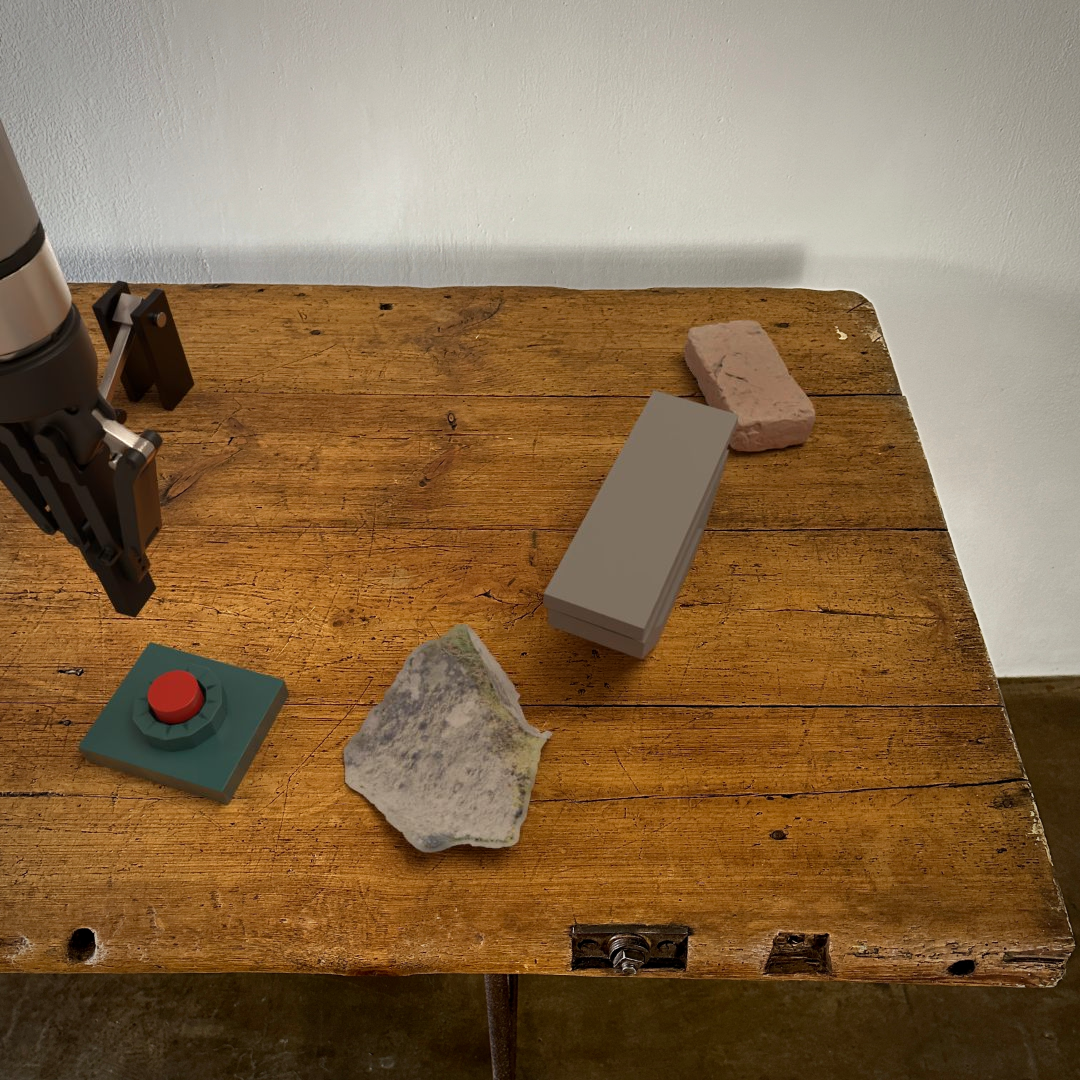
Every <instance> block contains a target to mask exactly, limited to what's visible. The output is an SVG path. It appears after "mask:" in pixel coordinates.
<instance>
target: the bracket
mask: <svg viewBox="0 0 1080 1080" xmlns="http://www.w3.org/2000/svg"><path fill="white" fill-rule="evenodd" d="M122 293H125V294H129V295H132V292H131V290H130V286H129V284H128V282H127V281H123V280H119V279H118V280H117V281H116V282H115V283H113V285H112V286H110V287H109V288H108V289H107V290H106V291H105V292H104V293H103V294H102V295H101V296H100V297H99V298H98V299H96V301H95V302H94V303H93V304H92V305H91V309H92V312H93V314H94V317H95V319H96V321H97V324H98V327H99V329H100V331H101V334H102V336H103V339H104V342H105V344H106V347H107V349H108V352H109V354H110V355H111V352H112V349H113V347H114V344H115V341H116V338H117V335H118V333H119V330H120V327H121V326H120V325H118V324H117V323H116V322H114V321H113V320H112V319H113V316H114V313H115V310H116V308H117V305H118V302H119V299H120V296H121V294H122ZM130 317H131V320H132V323H133V325H134V328H135V331H136V334H135V336H134V339H133V342H132V345H131V348H130V351H129V353H128V356H127V359H126V362H125V365H124V368H123V370H122V373H121V376H120V379H119V381H120V382H121V384H122V387H123V389H124V393H125V394H126V397H127V400H128V402H130V403H135V404H138V403H139V402H140V401H141V400H142V399H143V397H144V396H145V395H146V394H147V393H148V392H149V390H150V389H151V388H152V387H153V386H155V389H156V391H157V394H158V397H159V399H160V403H161V405H162V407H163V410H166V411H169V412H173V411H174V410H175V409H176V408H177V407H178V405H179V404H180V403H181V402H182V400H183V399H184V398H185V397H186V395H187V394H188V393H189V392H190V391H191V390H192V389H193V387H194V386H195V381H194V378H193V375H192V372H191V368H190V366H189V363H188V360H187V359H188V358H187V357H186V353H185V351H184V347H183V344H182V341H181V338H180V335H179V332H178V327H177V325H176V322H175V319H174V317H173V313H172V310H171V307H170V304H169V301H168V297H167V294H166V291H165V290H164V289H161V288H157V287H155V288H154V289H152V291H151V292H150V293H149V294H148V295H147V296H146V297H145V298H144V300H143V301H142V302H141V303H140V305H139V306H138V307H137V308H136V309H135V310H134V311H133V312H132V313H131V314H130Z"/></svg>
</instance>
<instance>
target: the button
mask: <svg viewBox="0 0 1080 1080" xmlns="http://www.w3.org/2000/svg"><path fill="white" fill-rule="evenodd" d="M148 701H149V703H150V705H151V707H152V709H153V711H154V713H155V714H156V716H157V717H158V718H159V719H160V720H161V721H163V722H166V723H170V724H177V723H182V722H185V721H187V720H189V719H191V718H192V717H193V716H194V715H196V714H197V712H198V711H199V710H200V708H201V706H202V703H203V694H202V691H201V689H200V687H199V685H198V683H197V680H196V679H195V677H194V676H193V675H192V674H190V673H188V672H185V671H171V672H167V673H165V674H163V675H161V676H160V677H158V678H157V679H156V680H155V681H154V682H153V683H152V685H151V686H150V688H149V691H148Z"/></svg>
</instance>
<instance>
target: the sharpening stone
mask: <svg viewBox="0 0 1080 1080" xmlns="http://www.w3.org/2000/svg"><path fill="white" fill-rule="evenodd" d="M738 417H739V415H738V414H734V413H731V412H728V411H724V410H721V409H717V408H714V407H710V406H709V405H708V404H707V405H706V404H703V403H699V402H697V401H693V400H690V399H686V398H682V397H679V396H675V395H673V394H669V393H665V392H662V391H659V390H653V391H652V393H651V395H650V396H649V399H648V400H647V402H646V404H645V405H644V408H643V409H642V411H641V413H640V415H639V417H638V418H637V420H636V422H635V424H634V426H633V428H632V430H631V431H630V434H629V435H628V437H627V439H626V441H625V443H624V444H623V446H622V448H621V450H620V452H619V453H618V456H617V457H616V459H615V461H614V463H613V464H612V466H611V468H610V470H609V472H608V474H607V476H606V478H605V479H604V481H603V483H602V485H601V487H600V489H599V490H598V492H597V494H596V496H595V498H594V499H593V501H592V504H591V505H590V507H589V509H588V511H587V513H586V515H585V517H584V518H583V520H582V521H581V524H580V526H579V528H578V529H577V532H576V533H575V535H574V537H573V538H572V541H571V542H570V544H569V546H568V548H567V550H566V552H565V553H564V554H563V557H562V559H561V561H560V563H559V564H558V566H557V568H556V570H555V572H554V573H553V576H552V578H551V579H550V581H549V583H548V585H547V586H546V588H545V590H544V592H543V601H542V602H543V603H542V604H543V607H545V608H548V609H547V610H548V612H547V613H548V614H547V626H549V627H551V628H554V629H556V630H560V631H563V632H565V633H568V634H570V635H574V636H576V637H580V638H582V639H585V640H587V641H590V642H592V643H596V644H598V645H600V646H604V647H607V648H609V649H612V650H614V651H617V652H619V653H620V652H621V653H623V654H626V655H629V656H631V657H634V658H637V659H640V660H643V659H644V658H645V657H646V656H647V655H648V654H649V653H650V652H651V651H652V650H653V649H654V648H655V647H656V646H657V645H658V644H659V642H660V640H661V637H662V634H663V632H664V630H665V628H666V625H667V623H668V621H669V618H670V616H671V614H672V611H673V609H674V606H675V604H676V602H677V599H678V597H679V594H680V592H681V590H682V587H683V586H684V583H685V581H686V578H687V576H688V573H689V571H690V569H691V567H692V564H693V562H694V559H695V557H696V556H697V552H698V551H699V547H700V544H701V541H702V538H703V535H704V533H705V532H704V531H705V529H706V526H707V523H708V521H709V517H710V514H711V511H712V507H713V505H714V501H715V499H716V496H717V492H718V490H719V487H720V484H721V481H722V477H723V475H724V471H725V469H726V465H727V461H728V456H729V453H730V450H729V449H728V447H729V446H730V443H729V442H730V440H731V438H732V435H733V433H734V431H735V429H736V425H737V421H738Z"/></svg>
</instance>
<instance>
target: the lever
mask: <svg viewBox="0 0 1080 1080" xmlns="http://www.w3.org/2000/svg"><path fill="white" fill-rule="evenodd" d="M144 299H145V298H144V297H143V296H138V295H133V294H131V295H129V294H125V293H122V294H121V296H120V299H119V302H118V305H117V308H116V310H115V313H114V316H113V319H112V320H113V321H114V322H116V323H117V324H118V325H120V326H121V327H120V330H119V333H118V335H117V338H116V341H115V344H114V347H113V349H112V352H111V354H110V355H109V358H108V361H107V364H106V366H105V369H104V372H103V375H102V378H101V381H100V383H99V386H98V389H99V391H100V393H101V394H102V396H103V397H104V398H105V399H106V400H107V401H108V402H109V404H110V405H112V401H113V399H114V396H115V394H116V390H117V388H118V384H119V382H120V376H121V373H122V370H123V368H124V365H125V362H126V359H127V356H128V353H129V351H130V348H131V345H132V342H133V339H134V336H135V334H136V331H135V328H134V325H133V323H132V320H131V317H130V314H131V313H132V312H133V311H134V310H135V309H136V308H137V307H138V306H139V305H140V303H141V302H142V301H143V300H144ZM113 409H114V411H115V413H116V422H118V423H119V424H121V425H122V426H124V425H125V424H126V422H127V419H128V414H127V413H128V412H127V411H126V410H125V409H122V408H117V407H113Z"/></svg>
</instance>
